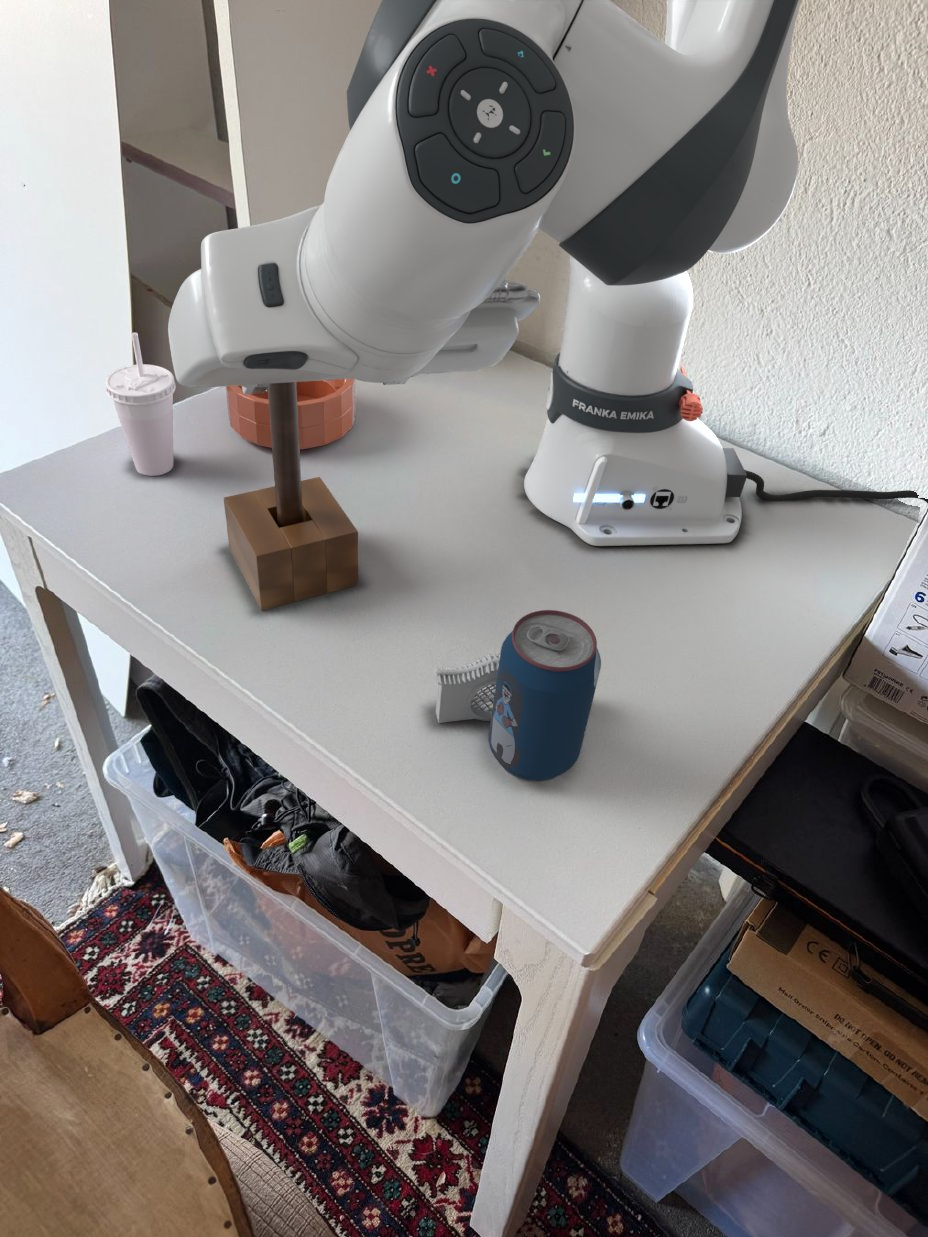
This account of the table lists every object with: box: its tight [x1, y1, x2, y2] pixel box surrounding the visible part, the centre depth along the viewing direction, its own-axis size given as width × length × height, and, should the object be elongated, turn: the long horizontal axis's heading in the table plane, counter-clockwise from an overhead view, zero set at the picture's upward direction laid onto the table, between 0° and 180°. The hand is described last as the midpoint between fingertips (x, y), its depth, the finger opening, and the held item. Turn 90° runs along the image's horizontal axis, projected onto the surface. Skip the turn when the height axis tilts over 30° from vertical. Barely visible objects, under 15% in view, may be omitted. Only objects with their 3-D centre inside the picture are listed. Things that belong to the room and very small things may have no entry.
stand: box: [223, 476, 359, 611], centre depth 82 cm, size 9×9×6 cm
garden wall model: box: [434, 653, 501, 724], centre depth 71 cm, size 12×2×6 cm, turn 102°
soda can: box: [488, 609, 602, 783], centre depth 66 cm, size 7×7×12 cm
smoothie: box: [104, 332, 177, 477], centre depth 90 cm, size 6×6×14 cm
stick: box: [268, 382, 303, 528], centre depth 77 cm, size 2×2×22 cm
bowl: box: [225, 379, 357, 450], centre depth 101 cm, size 14×14×6 cm
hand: (323, 377), depth 62 cm, fingers open, 8 cm apart
